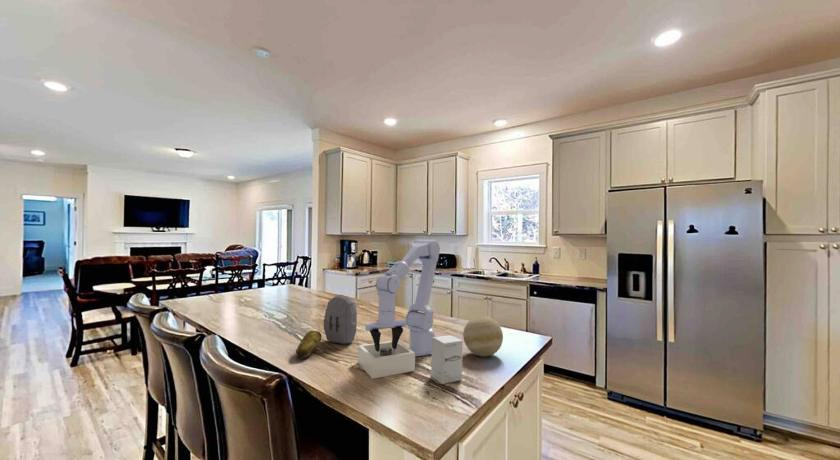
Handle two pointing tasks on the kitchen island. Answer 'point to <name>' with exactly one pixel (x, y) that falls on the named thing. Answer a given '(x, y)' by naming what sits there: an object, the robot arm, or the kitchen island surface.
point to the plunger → (385, 352)
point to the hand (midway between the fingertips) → (385, 349)
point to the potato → (308, 344)
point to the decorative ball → (483, 336)
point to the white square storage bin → (386, 360)
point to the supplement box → (446, 359)
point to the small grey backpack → (340, 320)
